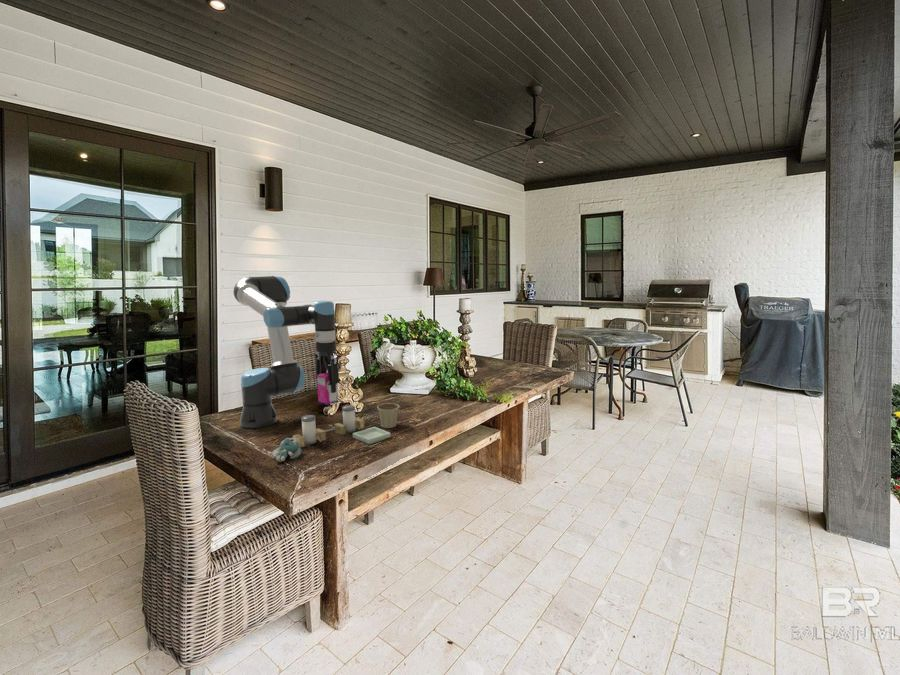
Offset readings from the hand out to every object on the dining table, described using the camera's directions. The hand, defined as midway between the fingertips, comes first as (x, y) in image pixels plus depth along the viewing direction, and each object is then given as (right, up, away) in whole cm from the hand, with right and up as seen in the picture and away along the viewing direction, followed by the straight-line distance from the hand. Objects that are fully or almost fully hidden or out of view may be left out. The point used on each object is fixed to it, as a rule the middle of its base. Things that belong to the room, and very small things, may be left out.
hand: (328, 398), depth 182 cm
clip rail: (-1, -15, +3) cm, 15 cm away
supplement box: (0, -2, 0) cm, 2 cm away
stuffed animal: (-10, -19, -18) cm, 28 cm away
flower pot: (+22, -14, +13) cm, 29 cm away
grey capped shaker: (+7, -14, +8) cm, 18 cm away
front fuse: (-6, -16, -4) cm, 18 cm away
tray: (+17, -15, 0) cm, 23 cm away
